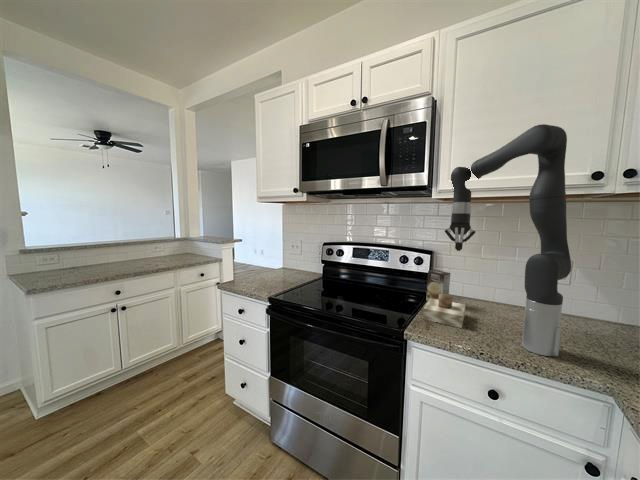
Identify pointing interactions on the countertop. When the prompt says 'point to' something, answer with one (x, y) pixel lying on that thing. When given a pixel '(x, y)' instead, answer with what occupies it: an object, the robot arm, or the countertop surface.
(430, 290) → the coffee box
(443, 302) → the walnut peg
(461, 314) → the birch block
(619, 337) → the countertop surface
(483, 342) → the countertop surface
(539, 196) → the robot arm
